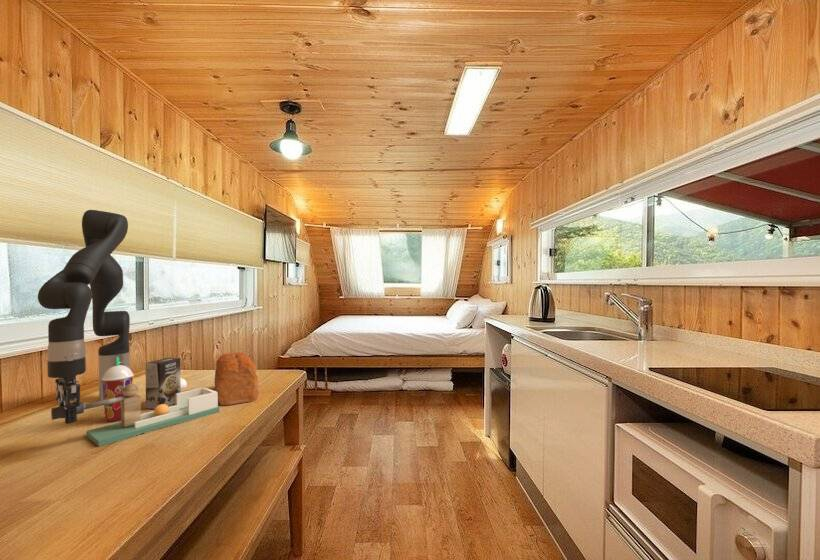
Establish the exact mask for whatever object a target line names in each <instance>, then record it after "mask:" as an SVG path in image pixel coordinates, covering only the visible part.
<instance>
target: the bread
mask: <svg viewBox="0 0 820 560" xmlns="http://www.w3.org/2000/svg"><path fill="white" fill-rule="evenodd" d="M256 369H257V366H256V365H255V362H254V361H253V360H252V358H251V357H250V356H249V355H247V354H246V353H244V352H234V353H233V352H228V353H223V354H222V355H220V356H219V357H218V359H217V360H216V364H215V372H214V389H215V390H214V391H216V392H218V405H220V406H233V405H239V404H245V403H249V402H250V403H251V402H255V401H256V400H257V399H258V397H259V380H258V375H257V372H256Z"/></svg>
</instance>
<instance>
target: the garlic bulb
mask: <svg viewBox="0 0 820 560" xmlns="http://www.w3.org/2000/svg"><path fill="white" fill-rule="evenodd" d="M180 381H181V390H183V389H185V388H186V387H187V385H188V382H187V381H186V379H184V378H182V377H181V376H180ZM182 388H183V389H182Z"/></svg>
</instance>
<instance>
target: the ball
mask: <svg viewBox="0 0 820 560" xmlns="http://www.w3.org/2000/svg"><path fill="white" fill-rule="evenodd" d="M169 407H170V406H167V405H165V404H161V405H158V406H157V407H156V408H155V409H153V411H154V415H155V416H160V415H164V414H167V413H168V412H169Z"/></svg>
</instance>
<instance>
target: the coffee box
mask: <svg viewBox="0 0 820 560" xmlns="http://www.w3.org/2000/svg"><path fill="white" fill-rule="evenodd" d="M180 377H181V358H179V357H164V358H161V359H157V360H152V361H147V362H145V409H150V410H151V409H152V410H155V408H156V407H157V406H158V405H161V404H165V405H167V406H168V407H171V406H173V405H176V394H177V393H181V392H182V391H181V390H182V389H181V381H180Z"/></svg>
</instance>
